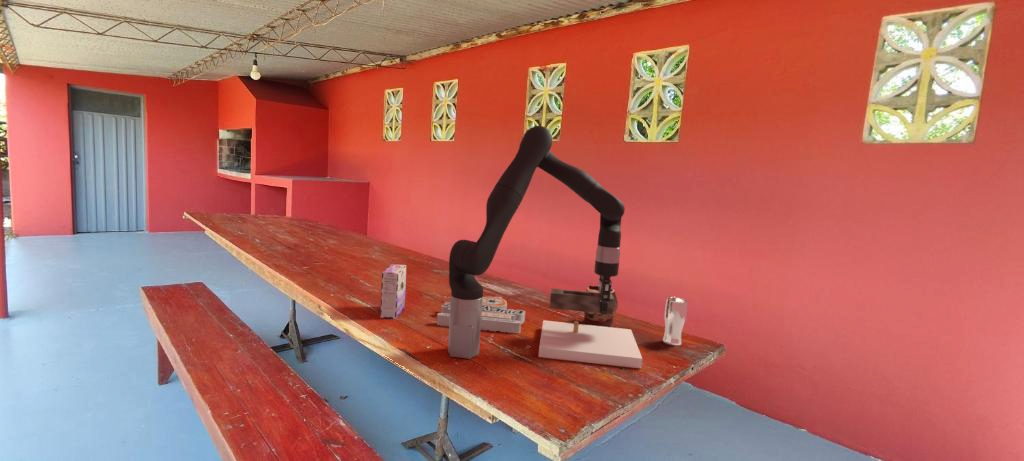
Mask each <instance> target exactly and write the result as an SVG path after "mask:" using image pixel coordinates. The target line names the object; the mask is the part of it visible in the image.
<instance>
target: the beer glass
mask: <svg viewBox="0 0 1024 461" xmlns="http://www.w3.org/2000/svg"><path fill="white" fill-rule="evenodd" d="M664 306H665V308H664V325H665V326H664V335H663V338H662V342H663V343H664V344H666V345H669V346H676V347H677V346H681V345H682V332H683V329H684V325H685V323H686V319H687V313H688V300H687V299H685V298H683V297H678V296H677V297H676V296H669V297H668V296H667V298H666V302H665V305H664Z"/></svg>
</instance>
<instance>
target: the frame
mask: <svg viewBox="0 0 1024 461" xmlns="http://www.w3.org/2000/svg"><path fill="white" fill-rule="evenodd" d="M603 298H607V296H606V295H604V296H603ZM600 299H601V295H600V294H599V293H594V292H586V291H582V290H581V291H580V290H572V289H560V288H551V289H550V300H549V309H551V310H552V309H555V310H563V311H574V312H575V311H576V312H582V313H583V312H593V313H600V304H601V301H600ZM613 305H614V298H613V295H612V294H610V301H609V302H608V307H607V314H613Z"/></svg>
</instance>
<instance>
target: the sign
mask: <svg viewBox="0 0 1024 461" xmlns="http://www.w3.org/2000/svg"><path fill="white" fill-rule="evenodd" d="M507 302H508V301H507V300H506V299H504V298H503V297H502V296H483V302H482V316H481V331H487V330H489V331H488V332H496V331H500V332H499V333H506V332H507V334H515V333H516V334H517V333H519V334H521V330H522V324H524V322H525V320H526V310H522V309H515V310H514V309H513V308H509V309H508V308H507V307H508V303H507ZM450 305H451V301H450V302H449V301H445V302H444V304H442V305H441V308H440V312H438V313H436V314H437V316H436V325H437V326H439V325H440V326H441V327H449V322H450ZM516 334H515V335H516ZM517 335H518V334H517Z"/></svg>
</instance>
